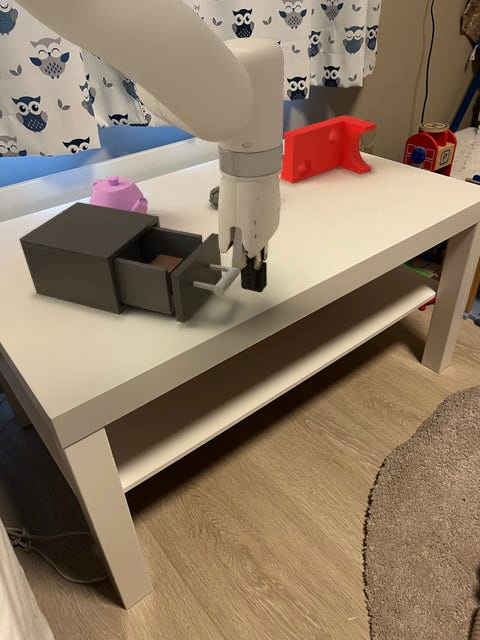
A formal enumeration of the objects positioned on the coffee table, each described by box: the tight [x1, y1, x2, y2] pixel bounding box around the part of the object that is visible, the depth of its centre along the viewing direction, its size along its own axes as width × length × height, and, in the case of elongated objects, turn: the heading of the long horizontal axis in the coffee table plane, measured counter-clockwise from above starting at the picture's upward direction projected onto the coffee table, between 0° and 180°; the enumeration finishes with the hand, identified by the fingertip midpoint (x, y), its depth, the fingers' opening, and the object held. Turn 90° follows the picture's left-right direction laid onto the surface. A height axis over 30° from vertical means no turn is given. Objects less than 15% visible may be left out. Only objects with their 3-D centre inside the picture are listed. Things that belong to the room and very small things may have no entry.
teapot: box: [88, 175, 149, 214], centre depth 97 cm, size 10×15×9 cm
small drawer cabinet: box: [19, 201, 161, 315], centre depth 82 cm, size 16×14×10 cm
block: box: [149, 254, 184, 295], centre depth 78 cm, size 4×4×4 cm
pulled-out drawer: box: [112, 226, 241, 324], centre depth 77 cm, size 19×12×8 cm, turn 66°
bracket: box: [280, 114, 377, 184], centre depth 114 cm, size 18×10×10 cm
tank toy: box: [208, 185, 220, 206], centre depth 105 cm, size 12×10×5 cm
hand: (254, 287), depth 73 cm, fingers closed
